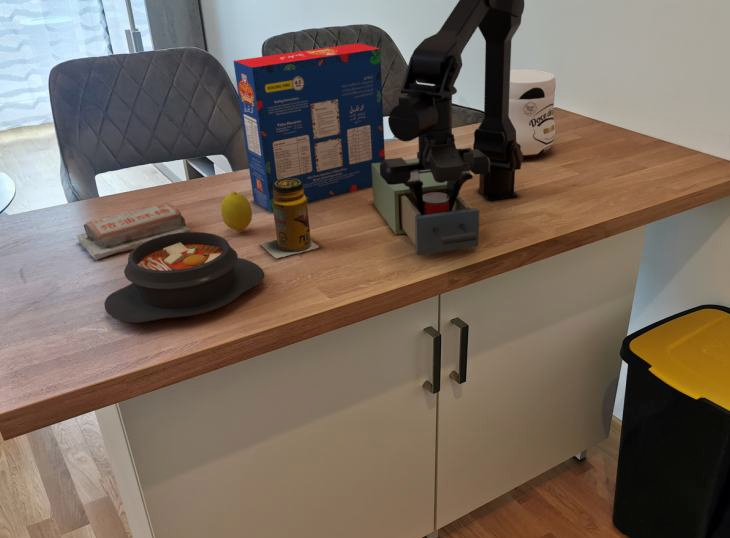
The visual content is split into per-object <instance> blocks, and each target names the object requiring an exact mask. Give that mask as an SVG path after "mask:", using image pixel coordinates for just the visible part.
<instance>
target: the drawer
mask: <svg viewBox="0 0 730 538" xmlns="http://www.w3.org/2000/svg"><path fill="white" fill-rule="evenodd" d="M428 193H444V194H447V188H446V189H439V190H431V191H423V192H422V196H423V195H425V194H428ZM398 199H399V224H400V226H401V227H402V228H403V230H404V231H405V232H406V233H405V234H406V235H407V236H408V238H409V239H410V241H412V243H413V244H414V246H415V247H414V248H415V254H416V255H417V256H421V255H422V256H423V255H430V254H436V253H441V252H448V251H454V250H463V249H468V248H469V249H470V248H476V247H479V237H480V236H479V235H480V234H479V233H480V231H479V230H480V209H479V208H478V207H475V208H474V207H473V208H471V205H469V204H468V203H467V202H466V201H465V200H464V199H463V198H462V197H461V196H460V194H459V195H457V198H456V201H455V203H454V206H453V209H452V211H450V212H444V213H436V214H429V215H421V213H420V212H419V210H418V208H417V205H416V203H415V200H414V198H413V195H412V193H407V194H399V195H398Z"/></svg>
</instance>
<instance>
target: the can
mask: <svg viewBox="0 0 730 538" xmlns="http://www.w3.org/2000/svg"><path fill="white" fill-rule="evenodd" d="M423 206H424V213H423V215H429V214H436V213H444V212H449V207H450V197H449V195H447V194H444V193H428V194H425V195H423Z"/></svg>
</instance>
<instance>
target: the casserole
mask: <svg viewBox="0 0 730 538" xmlns="http://www.w3.org/2000/svg"><path fill="white" fill-rule="evenodd" d="M123 272H124V273H123V274H124V277H125V278H126V280H128V281H129V282H130V284H128V285H125V286H124V287H122V288H120V289H118V290H116V291H113V292H112V293H110V294H109V295H107V296H106V298H105V300H104V304H103V305H104V310H105V311H106V313H107V314H108V315H109V316H110V317H112V318H113V319H115V320H118V321H120V322H124V323H129V324H142V323H147V322H153V321H158V320H163V319H172V318H184V317H192V316H196V315H201V314H205V313H209V312H211V311H214V310H217V309H219V308H222V307H224V306H226V305H227V304H229V303H231V302H233V301H235V299H237V298H238V297H240V296H241V295H242V294H243V293H245V292H246V291H248V290H250V289H252V288H254V287H256V286H257V285H258V284H260V283H262V281H264V279H265V272H264V269H263V268H262V267H260V266H259V265H258V264H257V263H255V262H253V261H250V260H248V259H245V258H242V257H239V256H238V253H237V251H236V250H235V249H234V248H232V247H231V245H230V243H229V241H228V240H226V238H224V237H222V236H221V235H218V234H215V233H210V232H204V231H203V232H201V231H191V232H184V233H175V234H169V235H165V236H161V237H157V238H154V239H151V240H149V241H147V242H144V243H143V244H141V245H139V246H137V247H136V248H135V249H132V250H131V252H130V253H129V255H128V258H127V264H126V265H125V266H124V271H123Z"/></svg>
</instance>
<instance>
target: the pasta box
mask: <svg viewBox="0 0 730 538" xmlns="http://www.w3.org/2000/svg"><path fill="white" fill-rule="evenodd" d="M381 58H382V57H381V48H380V47H375V46H372V45H368V44H363V43H359V42H357V43H351V44H350V43H349V44H342V45H336V46H330V47H329V46H328V47H322V48H315V49H314V48H313V49H306V50H300V51H294V52H286V53H279V54H278V53H277V54H274V55H273V54H271V55H265V56H257V57H251V58H242V59H235V60H233V67H234V75H235V81H236V82H235V83H236V86H237V87H236V89H237V95H238V102H239V108H240V116H241V123H242V129H243V137H244V143H245V151H246V157H247V162H248V170H249V178H250V185H251V191H252V197H253V202H254V203H255V204H257V205H258V206H260V207H262V208H263V209H264V210H266V211H268V212H269V213H271V214H272V213H273V214H274V212H273V205H272V199H273V197H274V195H273V187H272V186H273V184H274V182H276V181H277V180H281V179H288V178H291V179H292V178H293V179H298V180H300V181H301V182H302V184H303V191H304V195H305V196H306V200H307V204H311V203H314V202H318V201H322V200H326V199H331V198H334V197H337V196H341V195H345V194H349V193H353V192H357V191H360V190H364V189H368V188H373V184H372V165H371V164H372V163H381V162H382V161H383V160H385V159H386V153H385V152H386V150H385V129H384V127H385V126H384V125H385V124H384V105H383V82H382V81H383V80H382V60H381Z"/></svg>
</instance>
